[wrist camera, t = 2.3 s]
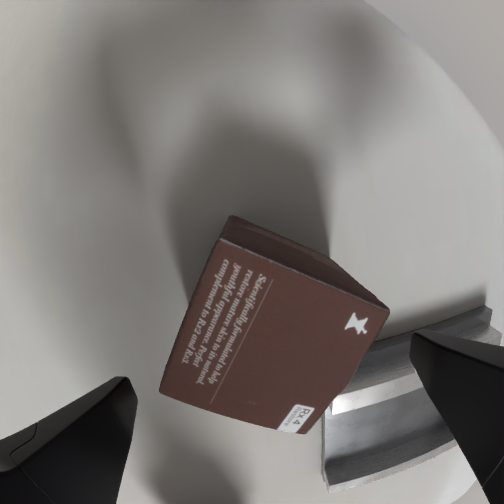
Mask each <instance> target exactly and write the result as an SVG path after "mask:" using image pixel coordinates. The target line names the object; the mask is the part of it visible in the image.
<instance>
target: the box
mask: <svg viewBox="0 0 504 504" xmlns="http://www.w3.org/2000/svg"><path fill="white" fill-rule="evenodd" d="M389 314H390V310H389V308H388V307H387V306H386V305H384V304H383V303H382V302H381V301H379V300H378V299H377V297H376V296H375V295H374V294H372V293H371V292H370V291H368V290H367V289H366V288H364V287H363V286H362V285H361V284H359V283H358V282H357V281H356V280H355V279H354V278H353V277H351V276H350V275H349V274H348V273H347V272H346V271H345V270H344V269H342V268H341V267H340V266H339V265H338V264H337V263H336V262H334V261H333V260H332V259H330V258H329V257H327V256H325V255H322V254H320V253H318V252H316V251H314V250H312V249H309V248H307V247H305V246H303V245H300V244H298V243H296V242H293V241H291V240H289V239H287V238H284V237H282V236H280V235H277V234H276V233H273V232H271V231H268V230H266V229H264V228H262V227H259V226H257V225H255V224H252V223H250V222H248V221H245V220H243V219H240V218H238V217H236V216H233V215H231V216H230V217H229V218H228V220H227V223H226V224H225V226H224V229H223V231H222V233H221V235H220V237H219V239H218V240H217V242H216V243H215V245H214V247H213V249H212V252H211V254H210V256H209V258H208V261H207V263H206V265H205V268H204V270H203V272H202V274H201V277H200V279H199V281H198V284H197V286H196V288H195V291H194V294H193V296H192V299H191V301H190V303H189V306H188V309H187V311H186V314H185V317H184V319H183V321H182V324H181V327H180V329H179V332H178V335H177V337H176V340H175V343H174V346H173V348H172V351H171V354H170V356H169V359H168V362H167V364H166V367H165V371H164V374H163V378H162V381H161V384H160V388H159V392H160V393H161V394H163V395H166V396H168V397H171V398H173V399H176V400H179V401H181V402H184V403H187V404H190V405H193V406H195V407H198V408H201V409H204V410H207V411H211V412H214V413H217V414H220V415H223V416H227V417H230V418H234V419H237V420H241V421H245V422H248V423H252V424H255V425H259V426H263V427H267V428H271V429H276V430H280V431H285V432H291V433H298V434H307V433H308V432H309V431H310V430H311V428H312V427H313V426H314V425H315V423H316V422H317V421H318V420H319V418H320V417H321V416H322V414H323V413H324V412H325V410H326V409H327V408H328V406H329V405H330V404H331V403H332V401H333V400H334V399H335V398H336V397H337V396H338V395H339V394H340V393H341V392H342V391H343V390H344V389H345V388H346V386H347V385H348V384H349V382H350V381H351V379H352V378H353V376H354V374H355V372H356V370H357V368H358V365H359V363H360V361H361V360H362V358H363V357H364V355H365V354H366V352H367V351H368V349H369V347H370V346H371V344H372V343H373V341H374V340H375V338H376V336H377V335H378V333H379V332H380V330H381V328H382V327H383V325H384V323H385V322H386V320H387V318H388V316H389Z"/></svg>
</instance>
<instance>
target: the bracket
mask: <svg viewBox="0 0 504 504" xmlns="http://www.w3.org/2000/svg"><path fill="white" fill-rule="evenodd" d="M491 315H492V309H490V308H488V307H487V306H485V305H484V306H482V307H479V308H477V309H474V310H472V311H469V312H467V313H464V314H461V315H459V316H456V317H453V318H451V319H448V320H445V321H442V322H439V323H436V324H433V325H430V326H427V327H424V328H421V329H418V330H415V331H412V332H408V333H405V334H402V335H398V336H395V337H391V338H388V339H384V340H381V341H377V342H373V343H372V344H371V346H370V347H369V349H368V351H367V352H366V354H365V355H364V357H363V358H362V360H361V361H360V363H359V365H358V368H357V370H356V372H355V374H354V376H353V378H352V379H351V381H350V382H349V384H348V385H347V386H346V388H345V389H344V390H343V391H342V392H341V393H340V394H339V395H338V396H337V397H336V398H335V399H334V400H333V401H332V403H331V404H330V405H329V406H328V408H327V409H326V410H325V412H324V413H323V414H322V477H323V480H324V482H326V486H327V490H328V493H334V492H338V491H342V490H346V489H349V488H353V487H356V486H360V485H363V484H366V483H369V482H373V481H376V480H379V479H381V478H384V477H387V476H390V475H393V474H395V473H398V472H400V471H403V470H405V469H408V468H410V467H413V466H415V465H417V464H420V463H422V462H424V461H426V460H428V459H431V458H433V457H435V456H437V455H439V454H441V453H443V452H445V451H447V450H449V449H451V448H453V447H454V446H456V445H458V443H457V442H456V440H455V438H454V437H453V435H452V433H451V432H450V430H449V428H448V427H447V425H446V423H445V422H444V420H443V418H442V417H441V415H440V414H439V412H438V410H437V409H436V407H435V406H434V404H433V403H432V401H431V399H430V398H429V396H428V394H427V393H426V391H425V389H424V387H423V385H422V383H421V381H420V379H419V377H418V375H417V373H416V371H415V369H414V367H413V365H412V363H411V361H410V357H409V353H410V344H411V336H412V334H413V333H414V332H416V331H419V330H422V329H426V330H430V331H434V332H439V333H443V334H447V335H452V336H456V337H461V338H465V339H470V340H474V341H479V342H483V343H488V344H493V345H498V346H499V345H500V341H501V337H502V333H501V332H499V331H498V330H496V329H495V328H493V327H491V326H490V321H491Z"/></svg>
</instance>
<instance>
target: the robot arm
mask: <svg viewBox="0 0 504 504" xmlns="http://www.w3.org/2000/svg"><path fill="white" fill-rule="evenodd" d="M409 357H410V361H411V363H412V365H413V367H414V369H415V371H416V373H417V375H418V377H419V379H420V381H421V383H422V385H423V387H424V389H425V391H426V393H427V394H428V396H429V398H430V399H431V401H432V403H433V404H434V406H435V407H436V409H437V410H438V412H439V414H440V415H441V417H442V418H443V420H444V422H445V423H446V425H447V427H448V428H449V430H450V432H451V433H452V435H453V437H454V438H455V440H456V442H457V443H458V445H459V447H460V448H461V450H462V452H463V454H464V455H465V457H466V459H467V461H468V463H469V464H470V466H471V468H472V470H473V472H474V474H475V475H476V477H477V479H478V481H479V483H480V485H481V486H482V489H483V491H484V493H485V495H486V497H487V498H488V501H489V503H490V504H504V347H503V346H498V345H493V344H488V343H483V342H479V341H474V340H470V339H465V338H461V337H456V336H452V335H447V334H443V333H439V332H434V331H430V330H426V329H422V330H419V331H416V332H414V333H413V334H412V336H411V344H410V353H409ZM137 404H138V400H137V396H136V393H135V391H134V389H133V387H132V384H131V382H130V380H129V378H128V377H125V376H117V377H114V378H112V379H111V380H109V381H107V382H106V383H104V384H102V385H101V386H99V387H97V388H96V389H94V390H92V391H90V392H89V393H87V394H85V395H84V396H82V397H80V398H78V399H77V400H75V401H73V402H72V403H70V404H68V405H66V406H65V407H63V408H61V409H59V410H58V411H56V412H54V413H52V414H50V415H49V416H47V417H45V418H43V419H42V420H40V421H38V423H37V422H36V423H34V424H32V425H31V426H29V427H27V428H25V429H23V430H21V431H19V432H17V433H15V434H13V435H11V436H8V437H6V438H4V439H1V440H0V504H116V501H117V497H118V492H119V488H120V484H121V480H122V476H123V472H124V468H125V464H126V460H127V456H128V453H129V449H130V445H131V441H132V435H133V429H134V422H135V416H136V410H137Z"/></svg>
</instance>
